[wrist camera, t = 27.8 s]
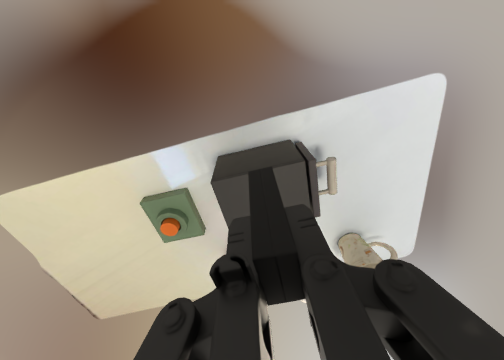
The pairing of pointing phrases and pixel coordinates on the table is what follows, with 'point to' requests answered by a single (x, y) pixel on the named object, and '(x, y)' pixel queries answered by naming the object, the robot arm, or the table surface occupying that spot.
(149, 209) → the block
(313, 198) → the open drawer with handle
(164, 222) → the button
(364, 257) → the mug
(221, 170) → the grey drawer cabinet
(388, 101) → the table surface
